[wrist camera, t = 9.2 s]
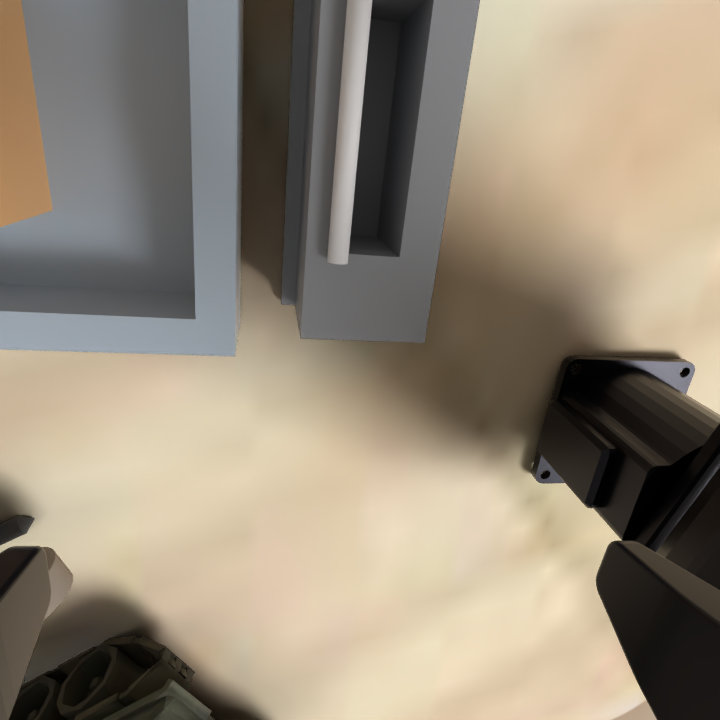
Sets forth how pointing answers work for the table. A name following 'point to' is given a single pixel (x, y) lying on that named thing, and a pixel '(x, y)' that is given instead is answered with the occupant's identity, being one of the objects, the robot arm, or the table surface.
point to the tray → (132, 181)
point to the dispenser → (371, 161)
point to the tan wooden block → (19, 125)
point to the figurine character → (57, 569)
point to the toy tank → (113, 686)
